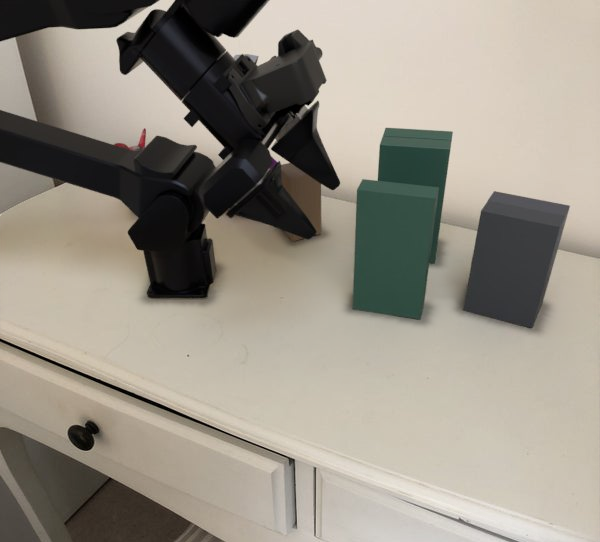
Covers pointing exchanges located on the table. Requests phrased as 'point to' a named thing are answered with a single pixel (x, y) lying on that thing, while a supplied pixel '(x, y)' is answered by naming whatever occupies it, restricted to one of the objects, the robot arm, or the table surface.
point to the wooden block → (303, 194)
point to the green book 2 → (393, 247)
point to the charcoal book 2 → (534, 205)
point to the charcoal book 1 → (511, 262)
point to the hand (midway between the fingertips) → (325, 210)
